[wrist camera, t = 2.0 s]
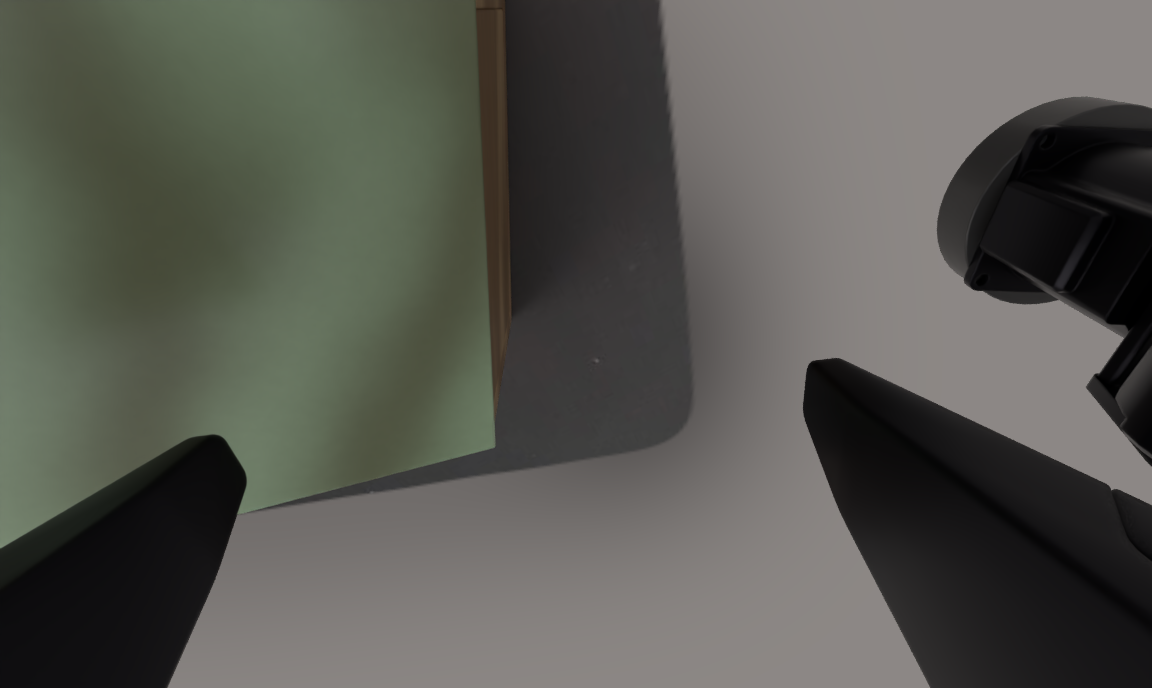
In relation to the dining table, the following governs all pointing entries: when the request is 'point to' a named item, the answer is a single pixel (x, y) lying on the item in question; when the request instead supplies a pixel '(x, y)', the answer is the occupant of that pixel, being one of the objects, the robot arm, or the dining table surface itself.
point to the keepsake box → (495, 176)
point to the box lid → (239, 243)
